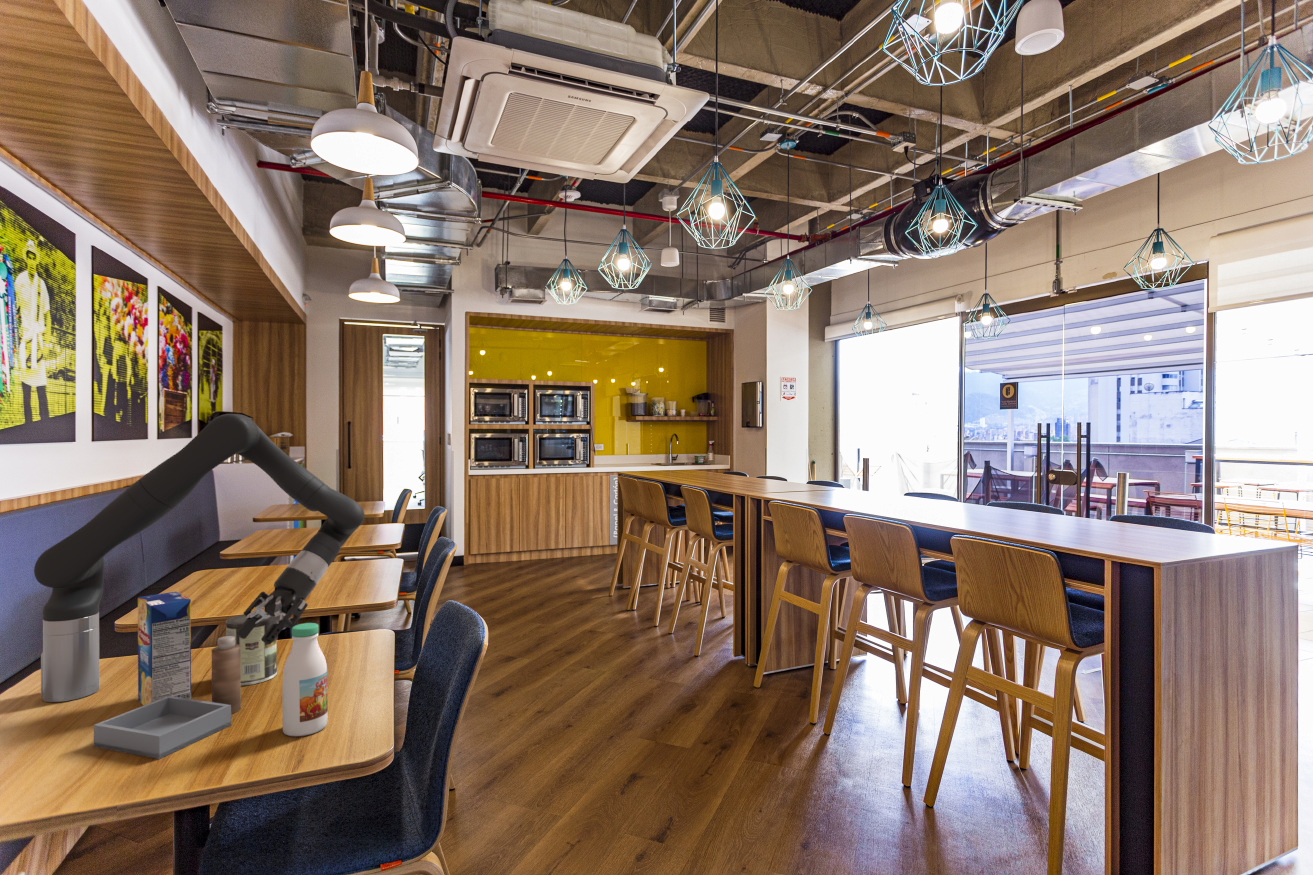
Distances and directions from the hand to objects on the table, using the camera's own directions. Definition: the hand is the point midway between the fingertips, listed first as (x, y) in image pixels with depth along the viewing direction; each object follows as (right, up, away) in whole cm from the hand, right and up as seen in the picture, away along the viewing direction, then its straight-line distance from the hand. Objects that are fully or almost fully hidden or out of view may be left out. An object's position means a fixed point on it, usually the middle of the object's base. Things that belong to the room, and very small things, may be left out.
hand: (252, 639), depth 141 cm
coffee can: (-9, -13, +14) cm, 21 cm away
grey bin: (-7, -13, -16) cm, 22 cm away
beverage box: (-19, -13, 0) cm, 23 cm away
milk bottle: (+18, -14, -13) cm, 26 cm away
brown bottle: (-2, -13, -5) cm, 14 cm away
